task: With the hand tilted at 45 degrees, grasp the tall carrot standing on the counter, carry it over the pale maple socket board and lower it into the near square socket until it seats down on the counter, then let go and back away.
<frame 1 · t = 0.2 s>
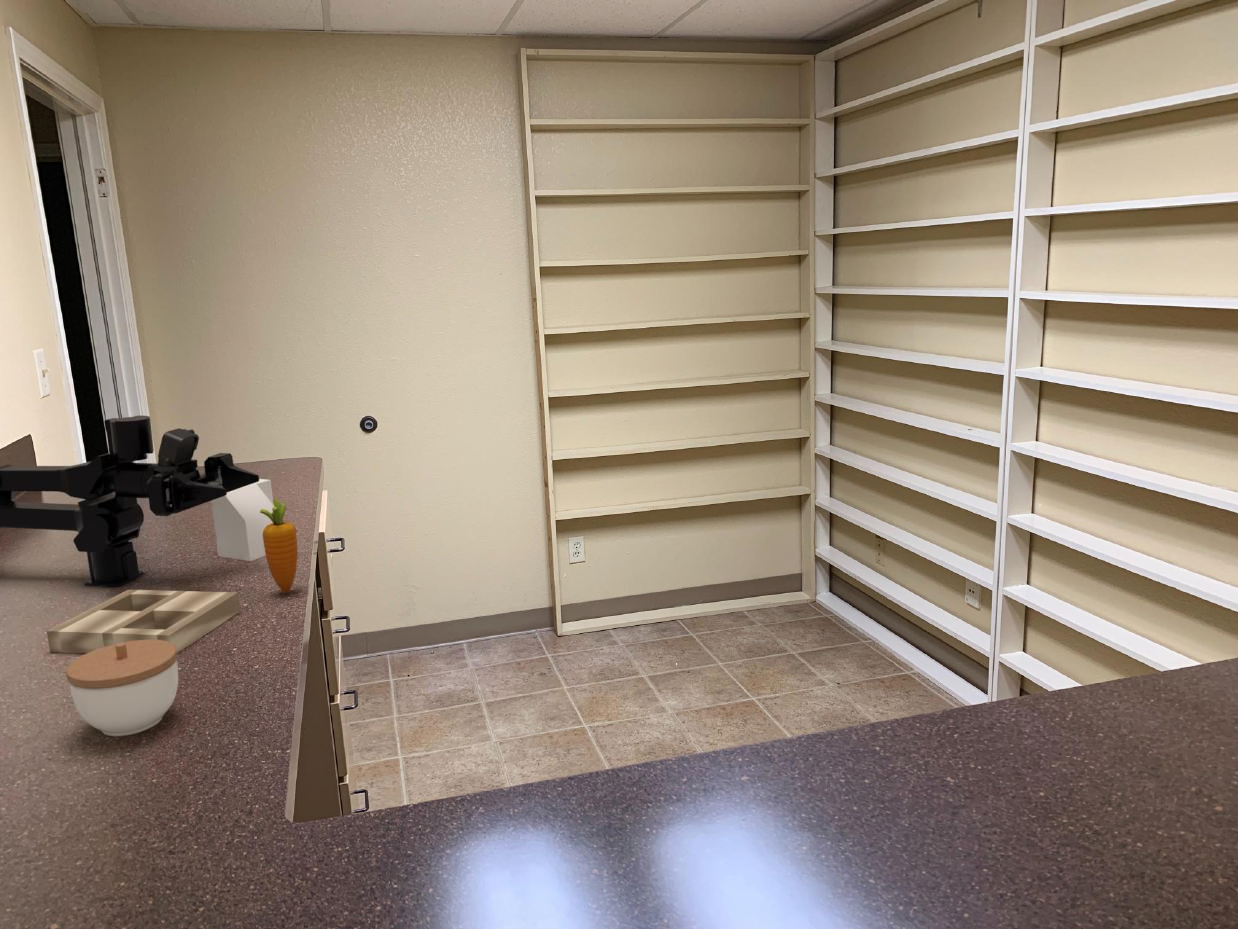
hand: (242, 484, 142), 17 cm above the worktop, tool horizontal, fingers open, 9 cm apart
lidded jar: (132, 724, 100), on the worktop
socket board: (150, 630, 126), on the worktop
carrot: (286, 594, 140), on the worktop
white angular block: (251, 550, 164), on the worktop
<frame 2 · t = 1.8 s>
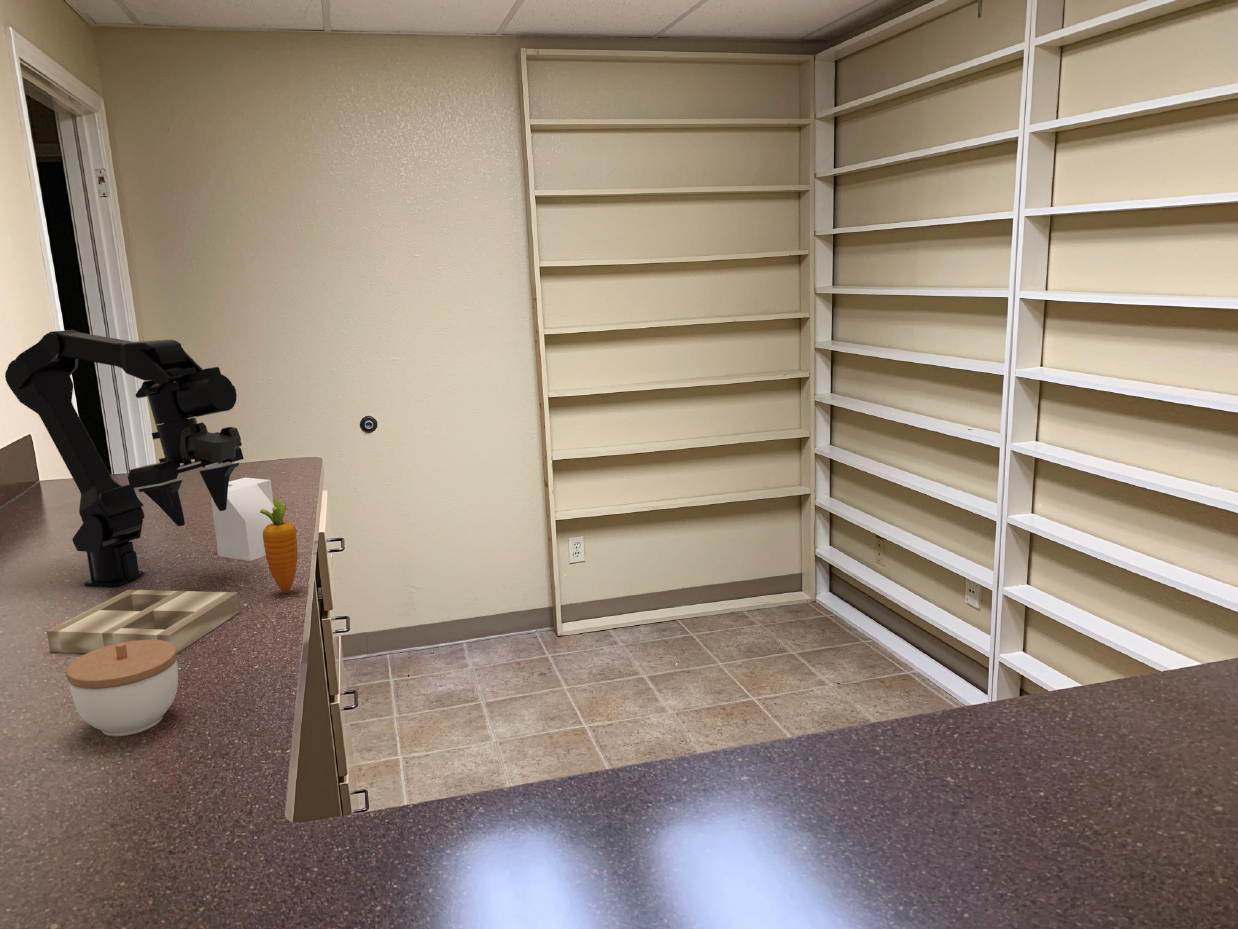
hand: (202, 518, 140), 12 cm above the worktop, tool pointing down, fingers open, 9 cm apart
nothing on the worktop moved.
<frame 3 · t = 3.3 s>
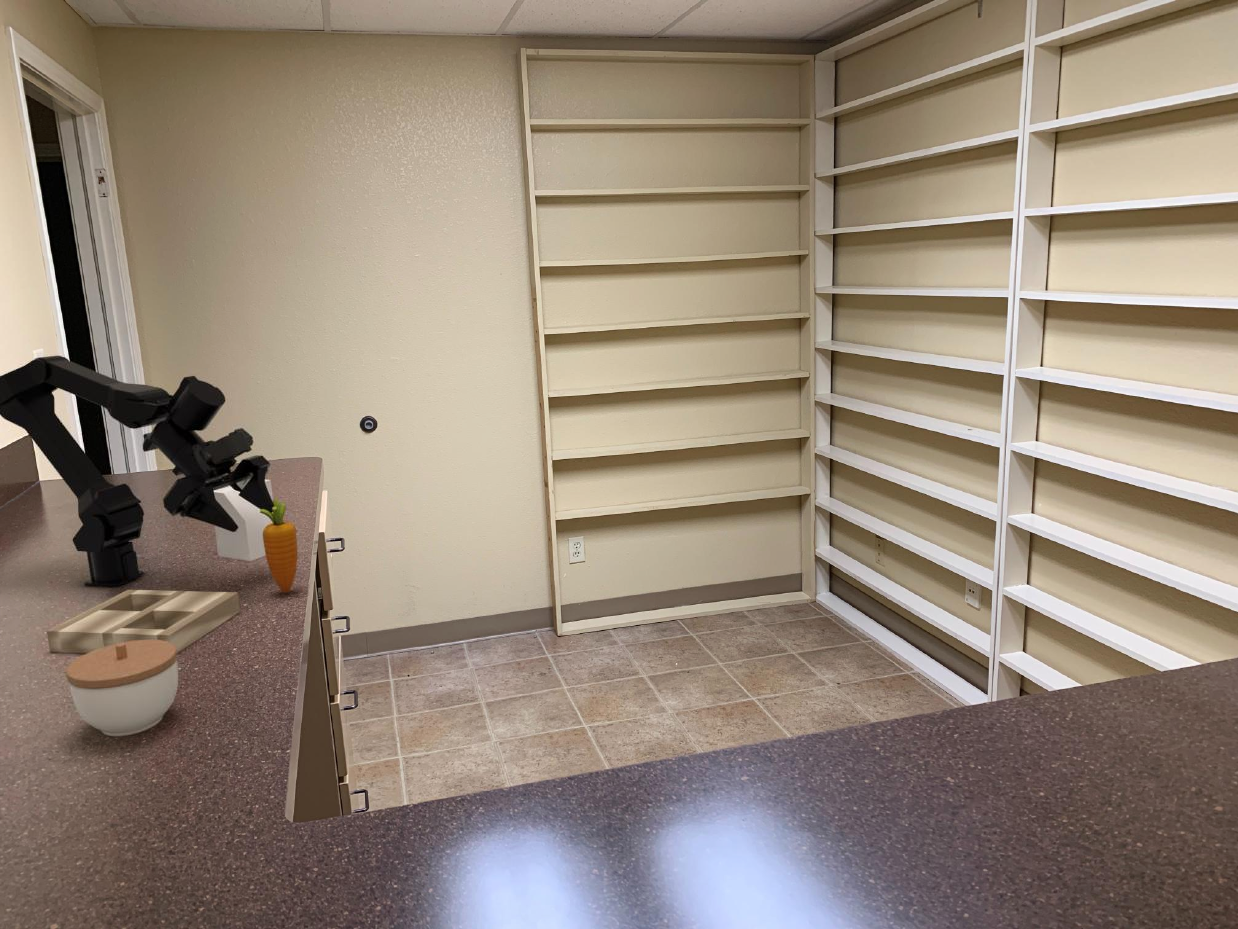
hand: (256, 521, 139), 11 cm above the worktop, tool tilted 45°, fingers open, 9 cm apart
nothing on the worktop moved.
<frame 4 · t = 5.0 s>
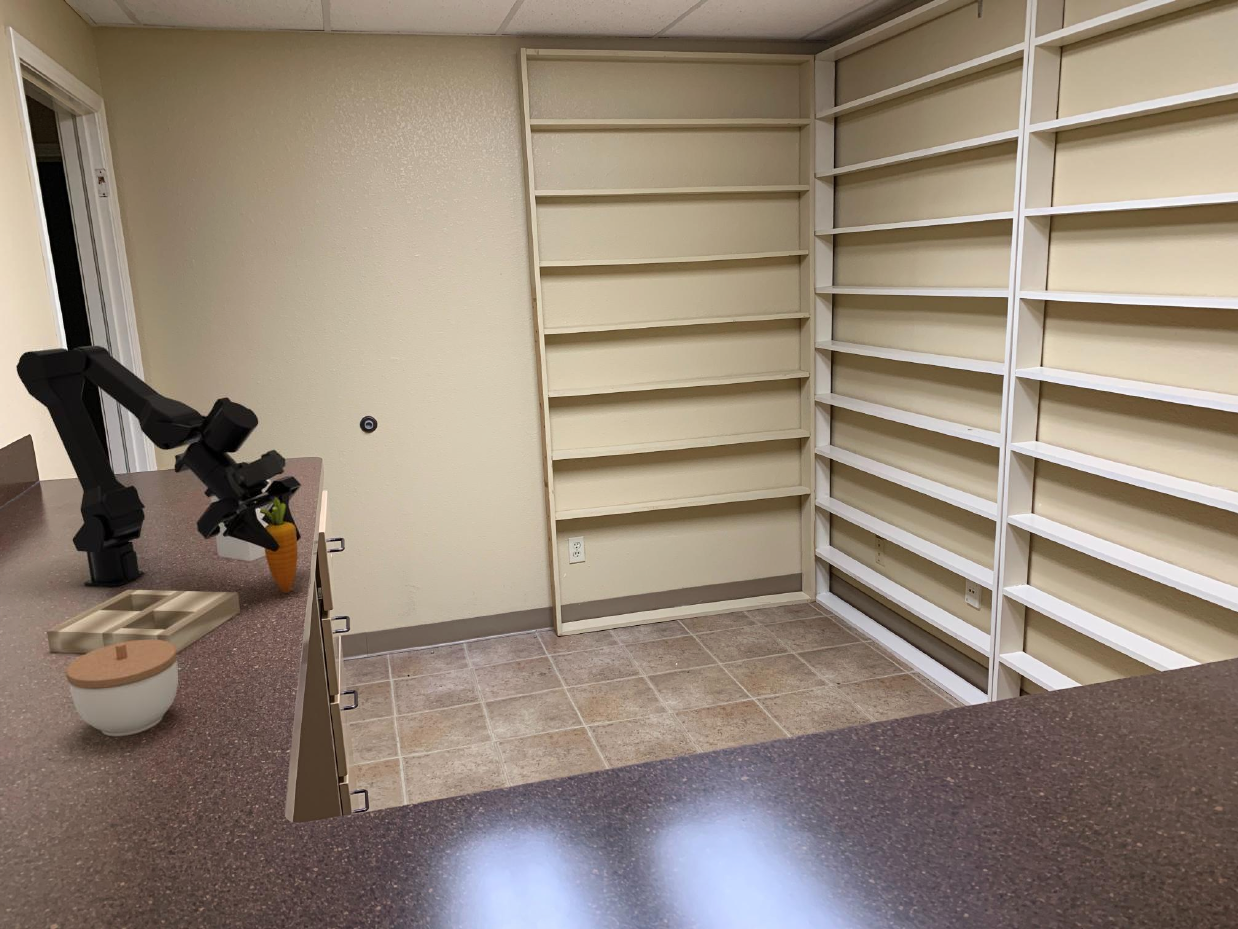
hand: (288, 544, 138), 8 cm above the worktop, tool tilted 45°, fingers closed on carrot, 5 cm apart
carrot: (286, 594, 140), on the worktop, touching gripper
everything else where it was.
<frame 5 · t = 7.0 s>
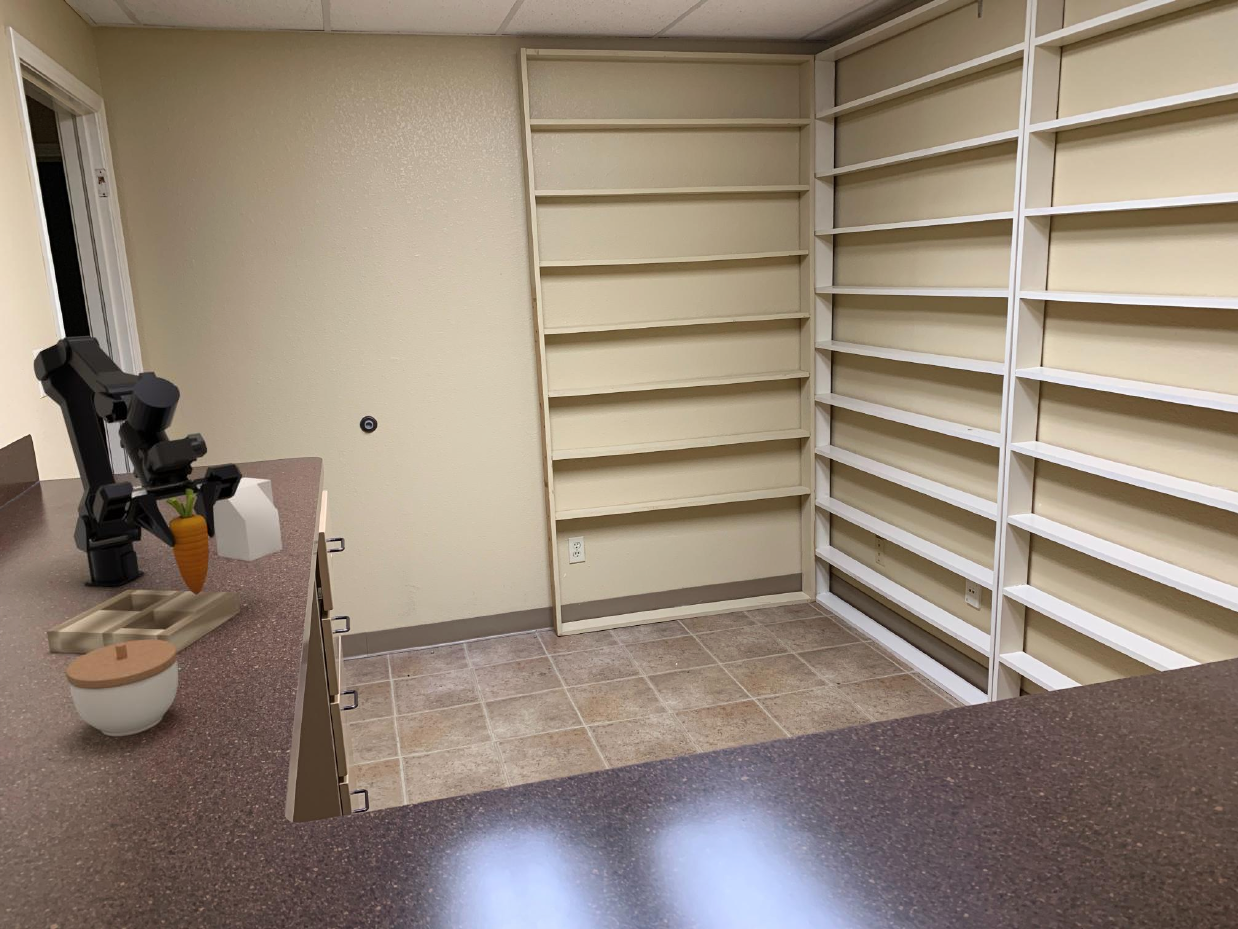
hand: (193, 540, 123), 13 cm above the worktop, tool tilted 45°, fingers closed on carrot, 5 cm apart
carrot: (197, 595, 126), point 5 cm above the worktop, touching gripper
everything else where it was.
when the fingers open (9 cm above the worktop, at t = 8.8 s): carrot stays where it is, on the worktop.
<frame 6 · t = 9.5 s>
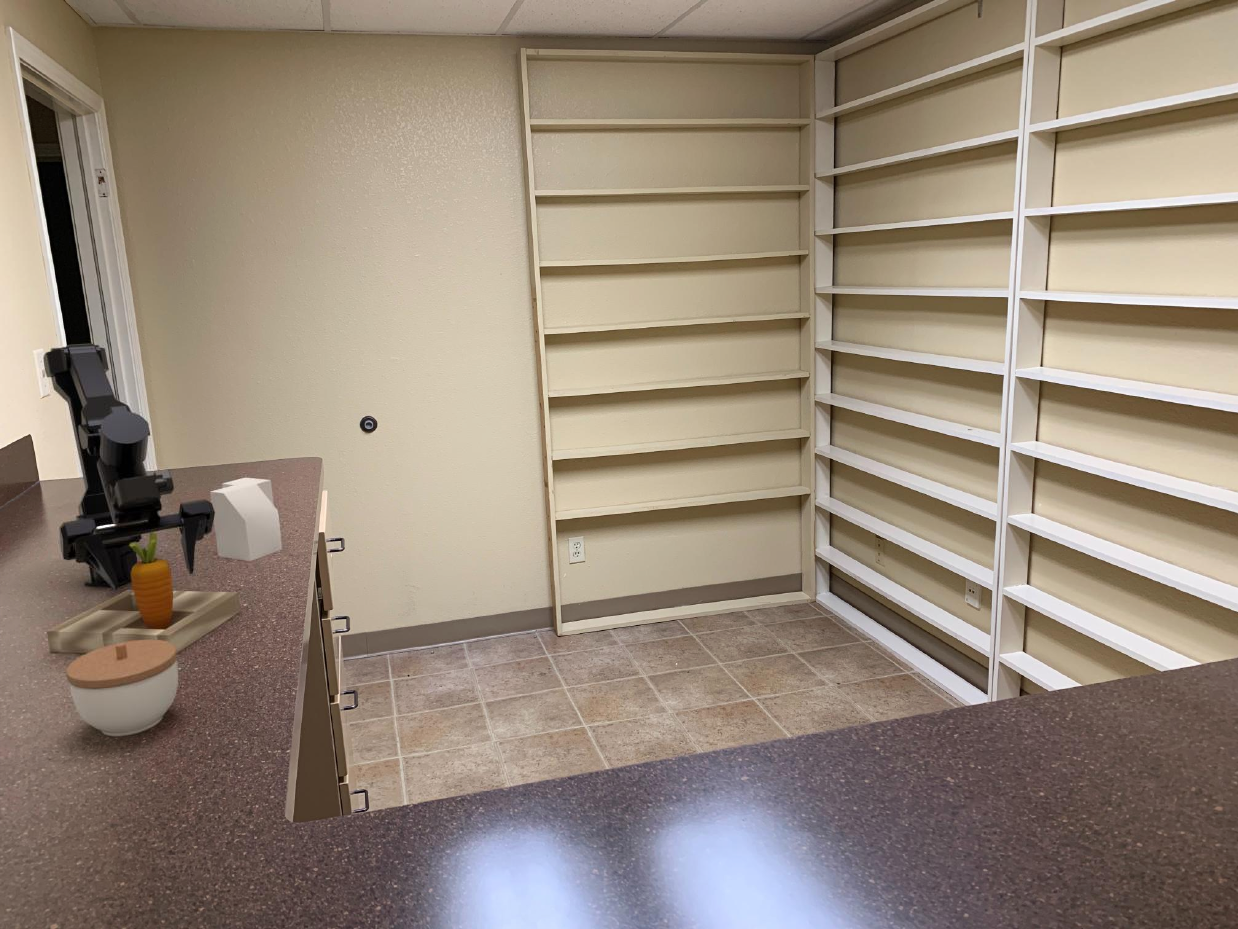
hand: (155, 580, 120), 9 cm above the worktop, tool tilted 45°, fingers open, 9 cm apart
carrot: (161, 641, 123), on the worktop
everything else where it was.
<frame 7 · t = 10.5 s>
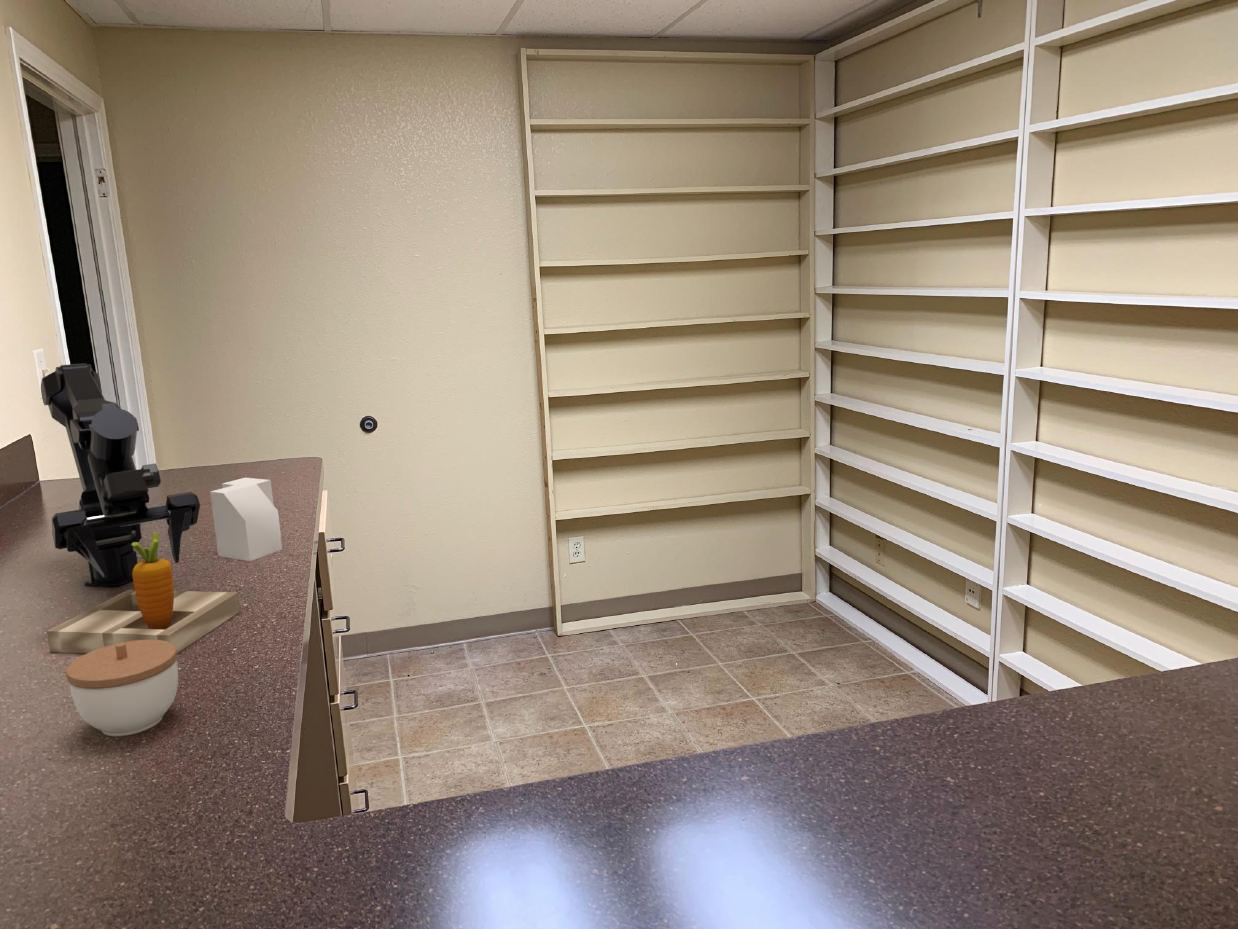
hand: (142, 568, 127), 9 cm above the worktop, tool tilted 45°, fingers open, 9 cm apart
nothing on the worktop moved.
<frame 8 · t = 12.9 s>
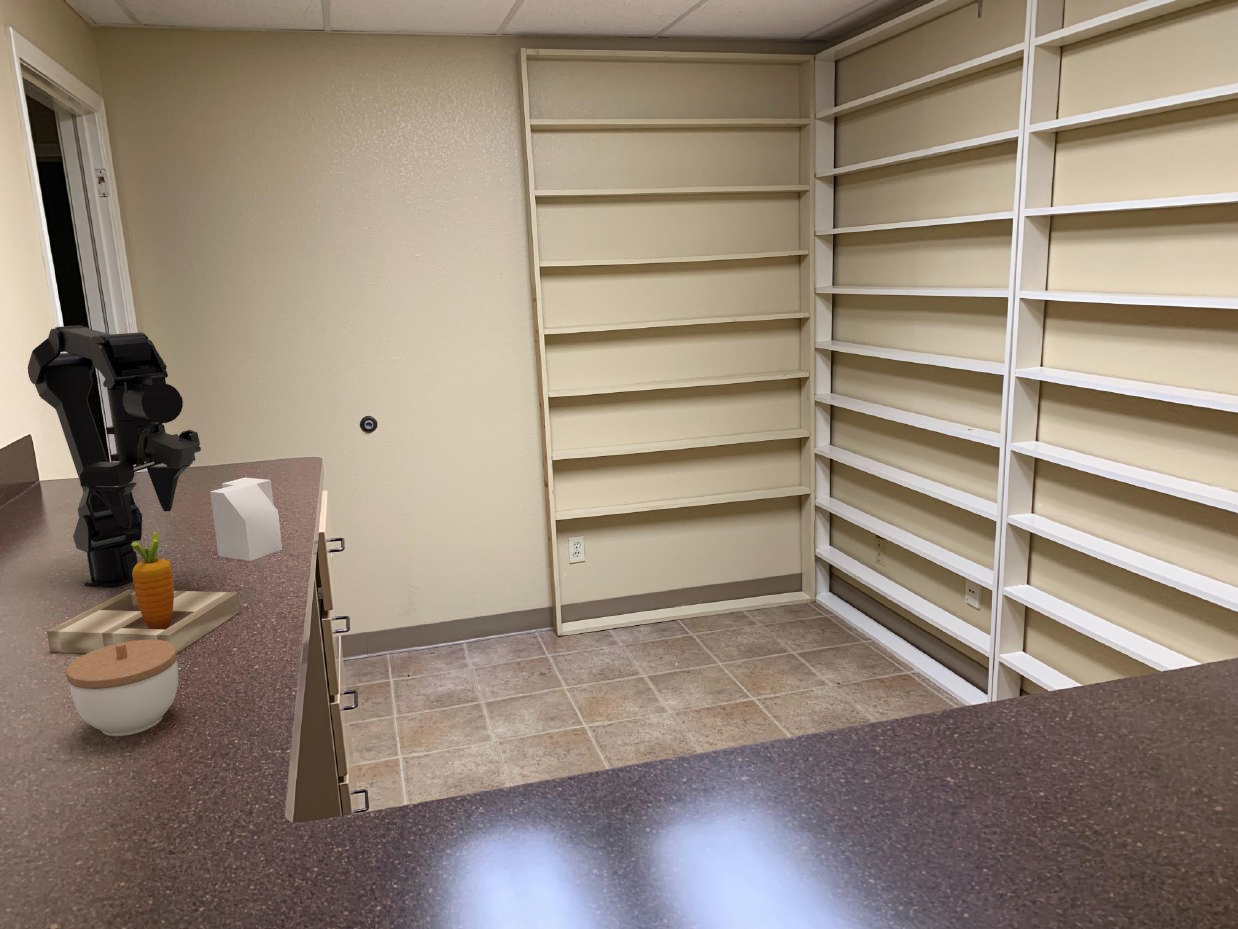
hand: (148, 519, 136), 13 cm above the worktop, tool pointing down, fingers open, 9 cm apart
nothing on the worktop moved.
at the end: carrot 0.1 cm from the target spot on the socket board, point 0.0 cm above the socket board's base; carrot tilted 1°; the gripper is holding nothing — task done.
